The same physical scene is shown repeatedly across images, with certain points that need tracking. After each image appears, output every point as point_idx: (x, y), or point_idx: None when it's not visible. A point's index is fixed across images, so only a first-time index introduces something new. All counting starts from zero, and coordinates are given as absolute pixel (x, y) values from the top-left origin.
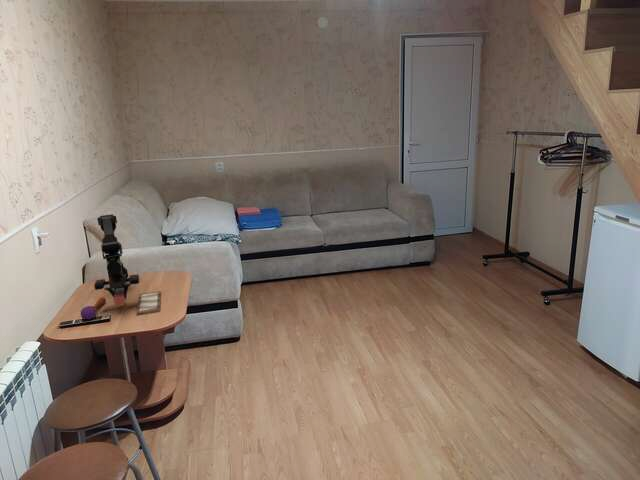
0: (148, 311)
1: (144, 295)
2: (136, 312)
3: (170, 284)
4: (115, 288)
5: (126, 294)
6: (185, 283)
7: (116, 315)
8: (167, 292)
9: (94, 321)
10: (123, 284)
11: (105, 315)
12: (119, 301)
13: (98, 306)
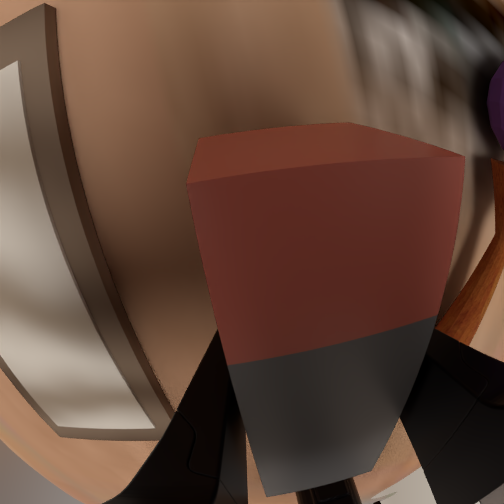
0: None
1: (125, 416)
2: (44, 27)
3: (78, 472)
4: None
5: (194, 374)
6: (19, 455)
7: (299, 53)
8: (27, 416)
9: (464, 20)
10: (305, 496)
11: (412, 107)
12: (292, 139)
13: (466, 284)
